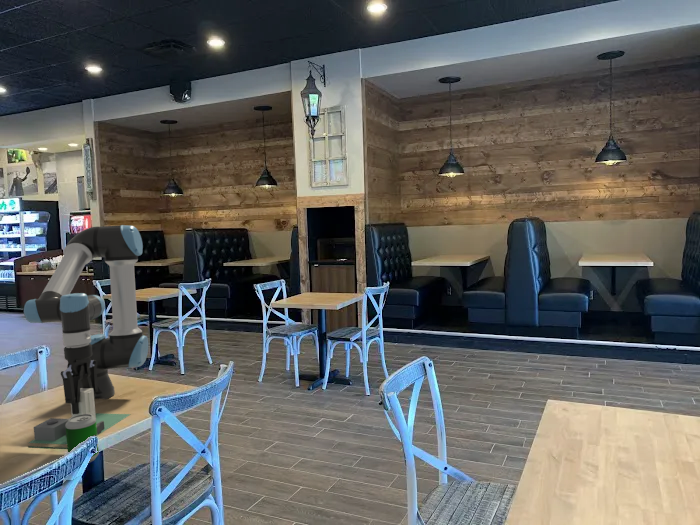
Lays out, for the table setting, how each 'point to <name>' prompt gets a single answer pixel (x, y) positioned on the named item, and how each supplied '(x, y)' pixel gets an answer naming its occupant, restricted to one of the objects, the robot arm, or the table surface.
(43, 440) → the board
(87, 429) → the soda can
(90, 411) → the plug
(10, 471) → the table surface
